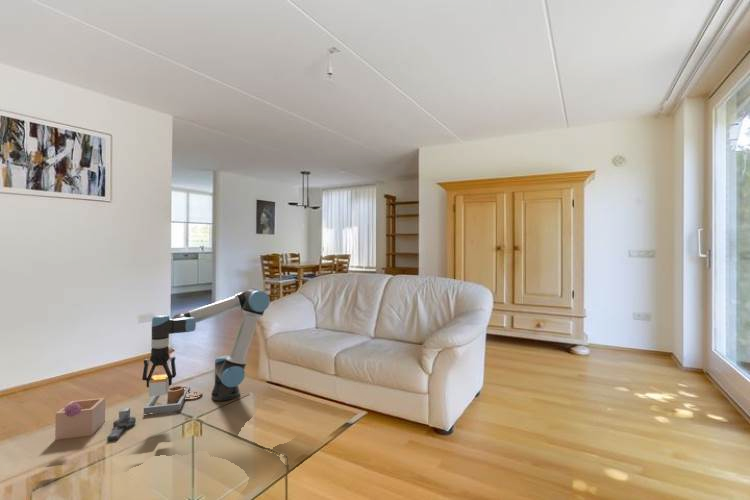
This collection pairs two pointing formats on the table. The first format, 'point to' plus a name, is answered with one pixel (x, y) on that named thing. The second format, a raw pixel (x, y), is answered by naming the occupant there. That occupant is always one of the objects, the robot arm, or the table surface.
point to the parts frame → (164, 408)
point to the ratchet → (121, 424)
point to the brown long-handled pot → (180, 393)
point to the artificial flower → (72, 409)
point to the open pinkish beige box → (81, 419)
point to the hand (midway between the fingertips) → (159, 392)
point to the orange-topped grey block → (158, 385)
